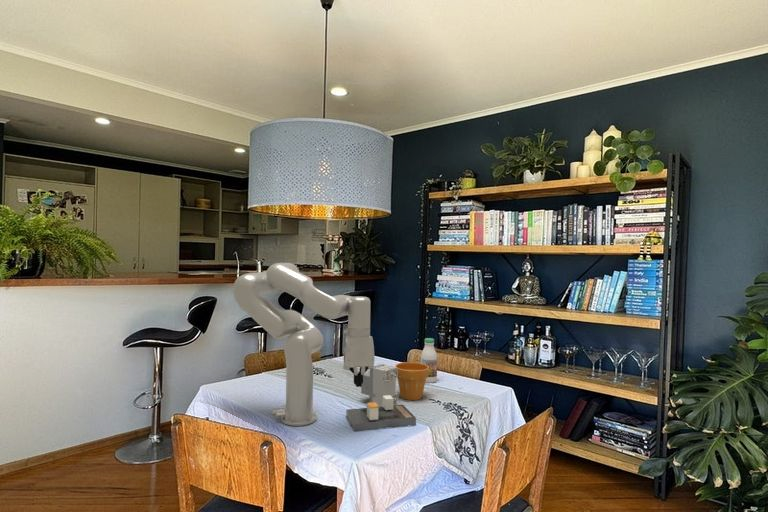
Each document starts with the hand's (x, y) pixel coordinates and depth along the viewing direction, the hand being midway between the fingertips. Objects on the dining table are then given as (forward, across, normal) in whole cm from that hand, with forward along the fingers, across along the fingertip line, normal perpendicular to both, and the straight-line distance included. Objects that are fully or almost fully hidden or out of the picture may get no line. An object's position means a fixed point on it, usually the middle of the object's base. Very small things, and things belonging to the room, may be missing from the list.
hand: (358, 385), depth 153 cm
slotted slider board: (+14, +9, +4) cm, 18 cm away
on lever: (+12, +13, +8) cm, 19 cm away
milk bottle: (+15, +45, +46) cm, 66 cm away
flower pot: (+15, +29, +26) cm, 42 cm away
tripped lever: (+12, +5, 0) cm, 13 cm away
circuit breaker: (+15, +13, +22) cm, 30 cm away
